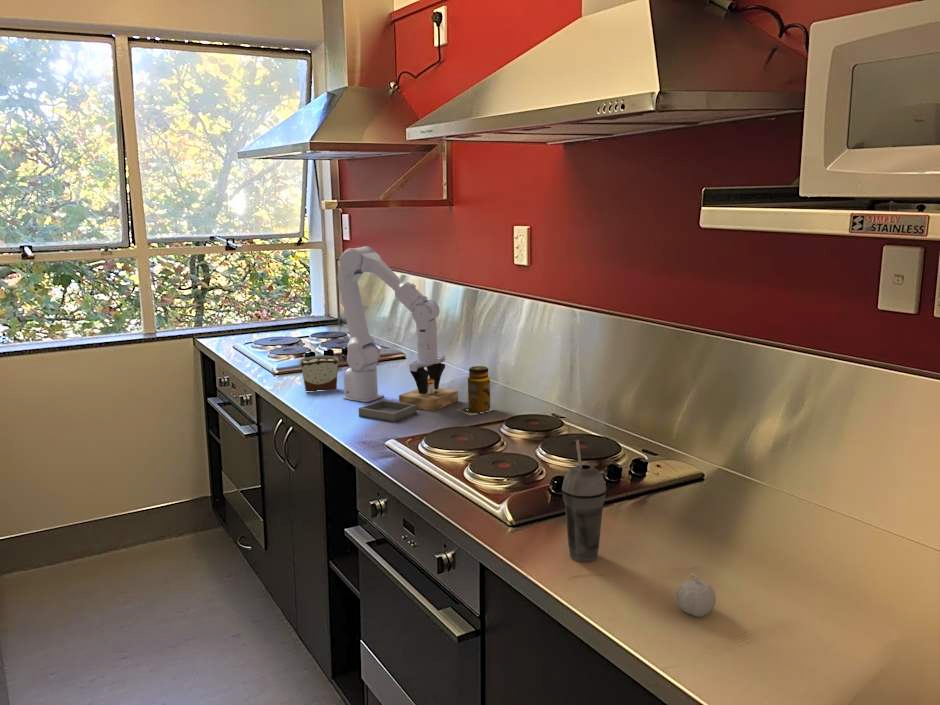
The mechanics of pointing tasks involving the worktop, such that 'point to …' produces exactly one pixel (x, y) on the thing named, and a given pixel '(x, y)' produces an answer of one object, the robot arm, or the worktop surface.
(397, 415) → the tray
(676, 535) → the worktop surface
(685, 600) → the garlic
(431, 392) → the small glass vial
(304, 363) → the food container
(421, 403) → the socket block
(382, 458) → the worktop surface
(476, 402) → the condiment
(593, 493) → the beverage cup
